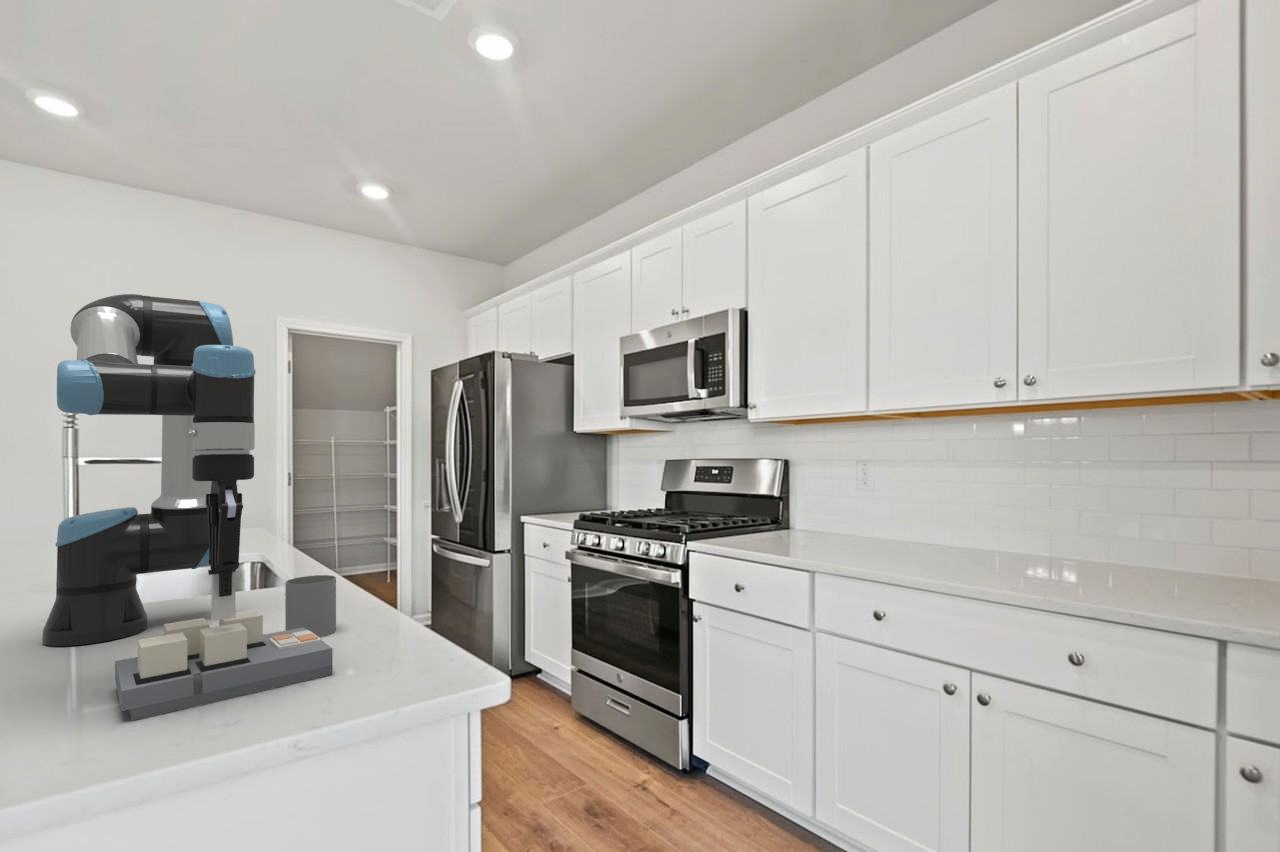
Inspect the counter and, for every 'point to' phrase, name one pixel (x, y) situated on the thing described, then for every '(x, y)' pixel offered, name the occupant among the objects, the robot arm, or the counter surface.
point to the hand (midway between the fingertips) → (223, 618)
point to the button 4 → (248, 624)
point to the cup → (311, 604)
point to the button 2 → (188, 632)
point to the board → (225, 674)
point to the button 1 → (162, 655)
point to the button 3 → (222, 644)
